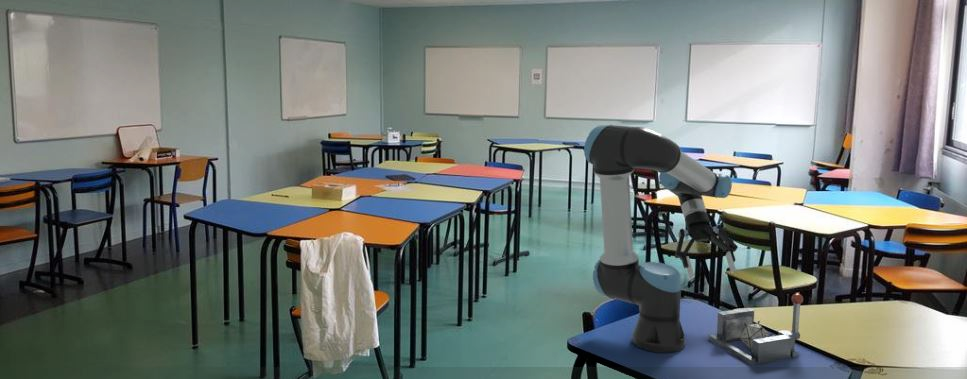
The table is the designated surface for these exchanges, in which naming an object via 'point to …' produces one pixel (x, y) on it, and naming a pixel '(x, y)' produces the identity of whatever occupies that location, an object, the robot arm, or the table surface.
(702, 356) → the table surface
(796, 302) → the lever
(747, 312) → the jaw
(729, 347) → the vise body
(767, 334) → the game die
